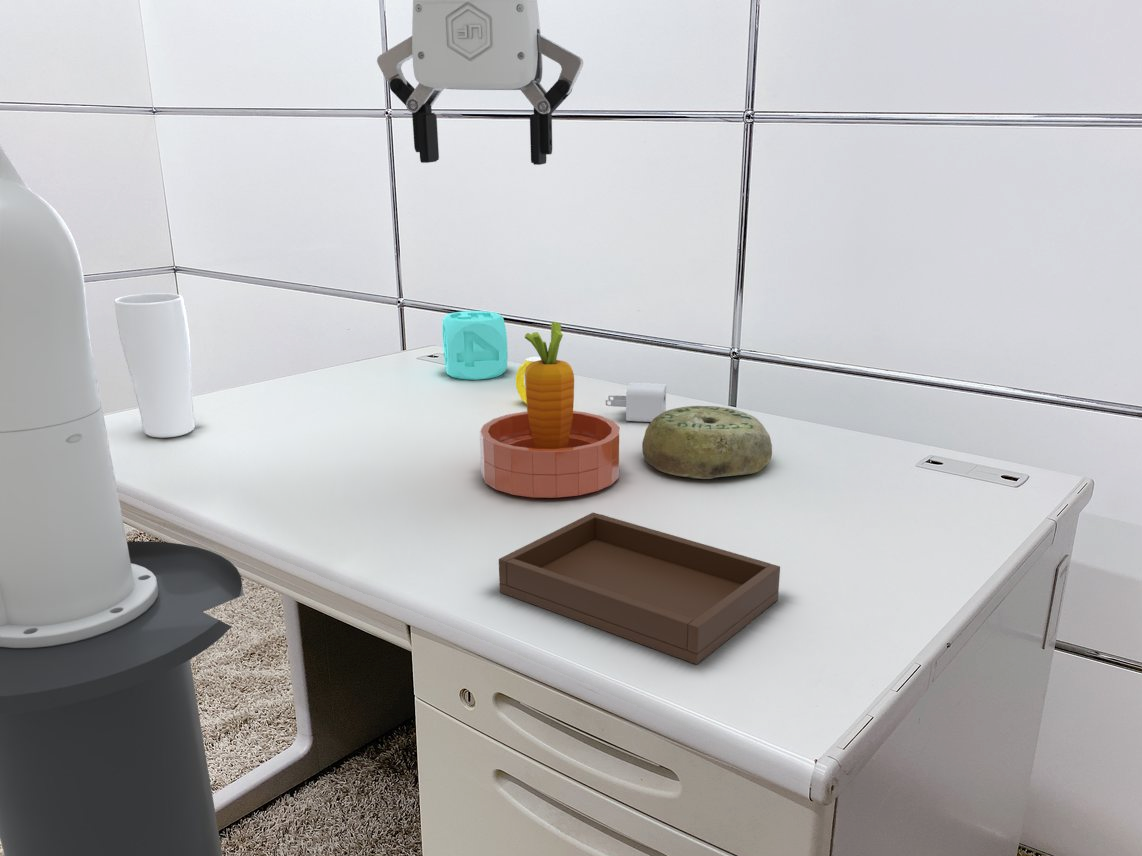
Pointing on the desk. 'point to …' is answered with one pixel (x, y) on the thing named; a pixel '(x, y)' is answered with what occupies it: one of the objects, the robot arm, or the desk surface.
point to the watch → (520, 377)
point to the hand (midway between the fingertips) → (484, 162)
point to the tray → (642, 584)
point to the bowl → (550, 457)
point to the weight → (706, 442)
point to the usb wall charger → (642, 401)
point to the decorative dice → (474, 345)
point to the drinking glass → (158, 360)
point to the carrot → (549, 393)
